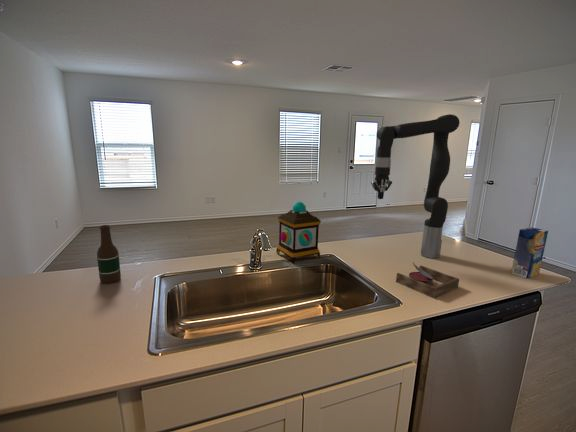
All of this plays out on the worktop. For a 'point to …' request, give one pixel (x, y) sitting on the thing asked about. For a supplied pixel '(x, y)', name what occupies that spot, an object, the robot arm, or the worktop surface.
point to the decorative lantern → (298, 233)
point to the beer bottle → (108, 258)
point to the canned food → (421, 276)
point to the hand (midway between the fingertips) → (380, 198)
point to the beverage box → (529, 252)
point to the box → (428, 290)
